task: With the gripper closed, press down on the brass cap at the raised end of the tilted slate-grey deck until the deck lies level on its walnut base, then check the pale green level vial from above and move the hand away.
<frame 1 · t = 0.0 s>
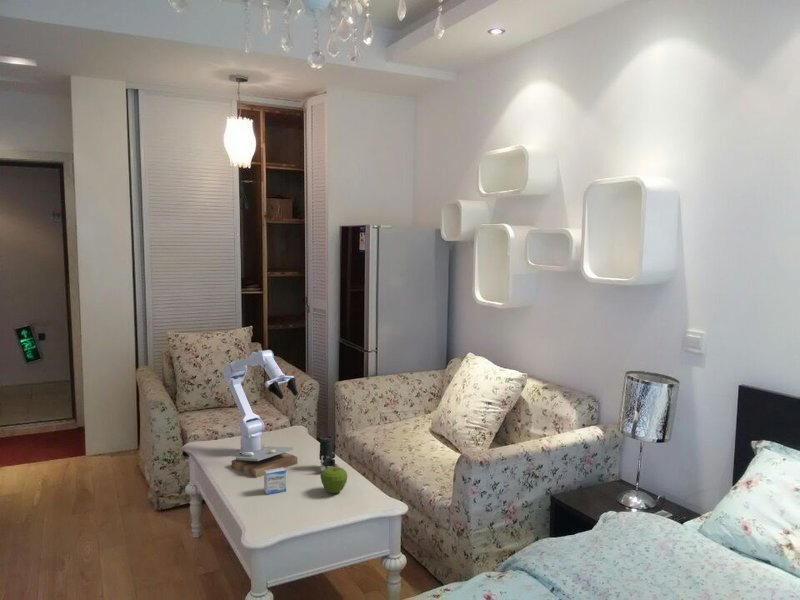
hand: (289, 396, 262), 32 cm above the table, tool tilted 50°, fingers open, 7 cm apart
scope: (326, 469, 265), on the table
walnut base: (264, 465, 269), on the table
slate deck: (263, 451, 269), point 6 cm above the table, hinge at 12.0°
medicine box: (275, 491, 242), on the table
apple: (334, 492, 241), on the table
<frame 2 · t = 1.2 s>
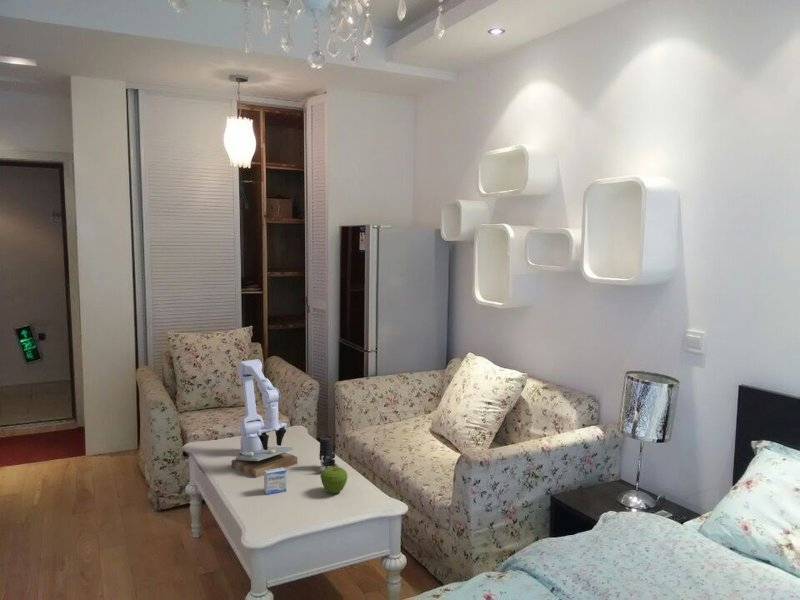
hand: (272, 447, 264), 9 cm above the table, tool pointing down, fingers open, 7 cm apart
nothing on the table moved.
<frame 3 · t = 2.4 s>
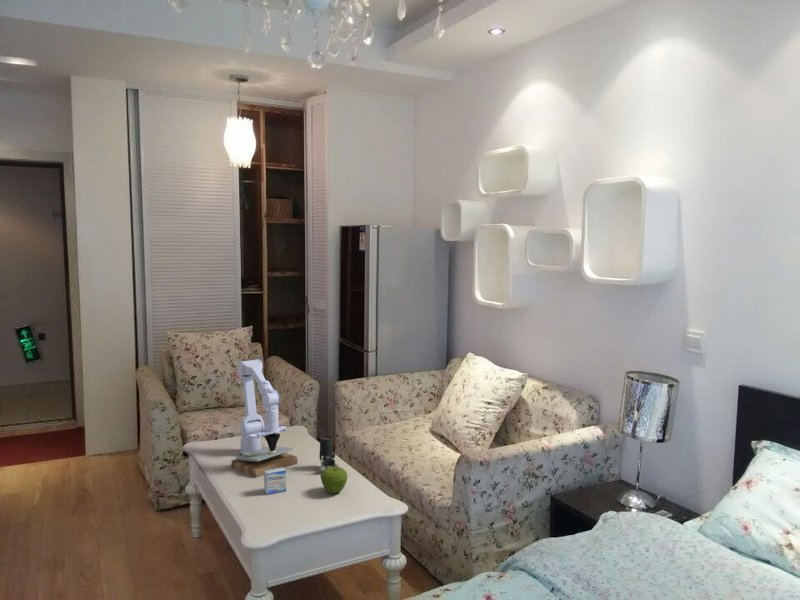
hand: (272, 450, 265), 8 cm above the table, tool pointing down, fingers closed, pressing on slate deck
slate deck: (263, 451, 269), point 6 cm above the table, hinge at 11.5°, touching gripper
everything else where it was.
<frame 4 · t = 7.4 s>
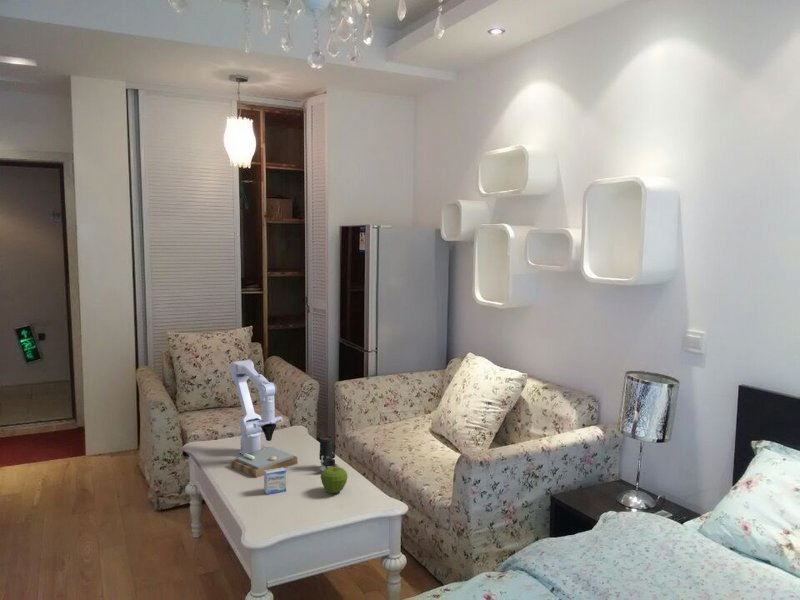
hand: (268, 440, 271), 10 cm above the table, tool pointing down, fingers closed
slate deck: (264, 455, 269), point 4 cm above the table, hinge at -0.4°, touching walnut base
everything else where it was.
at the end: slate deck at +0° (first picture: +12°); scope moved 0.2 cm from its start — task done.
